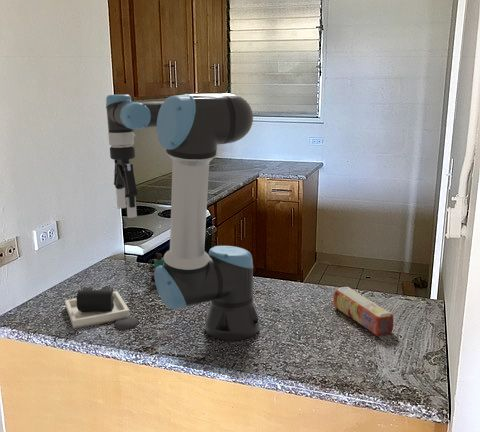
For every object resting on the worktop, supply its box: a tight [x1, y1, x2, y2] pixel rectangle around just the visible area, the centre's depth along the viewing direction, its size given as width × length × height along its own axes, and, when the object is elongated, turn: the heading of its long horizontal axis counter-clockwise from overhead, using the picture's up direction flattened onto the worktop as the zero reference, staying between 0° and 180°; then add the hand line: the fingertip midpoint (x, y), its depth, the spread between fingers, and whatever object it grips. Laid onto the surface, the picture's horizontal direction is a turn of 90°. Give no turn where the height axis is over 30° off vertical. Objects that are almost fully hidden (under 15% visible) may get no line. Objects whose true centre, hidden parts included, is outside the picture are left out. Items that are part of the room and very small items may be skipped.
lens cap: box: [114, 317, 139, 331], centre depth 150 cm, size 6×6×1 cm
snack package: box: [332, 286, 394, 337], centre depth 149 cm, size 21×7×7 cm, turn 23°
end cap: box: [76, 285, 115, 312], centre depth 157 cm, size 10×7×7 cm
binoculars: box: [148, 249, 170, 280], centre depth 183 cm, size 9×11×10 cm
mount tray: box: [64, 290, 131, 330], centre depth 157 cm, size 16×16×2 cm
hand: (126, 212), depth 167 cm, fingers open, 13 cm apart
